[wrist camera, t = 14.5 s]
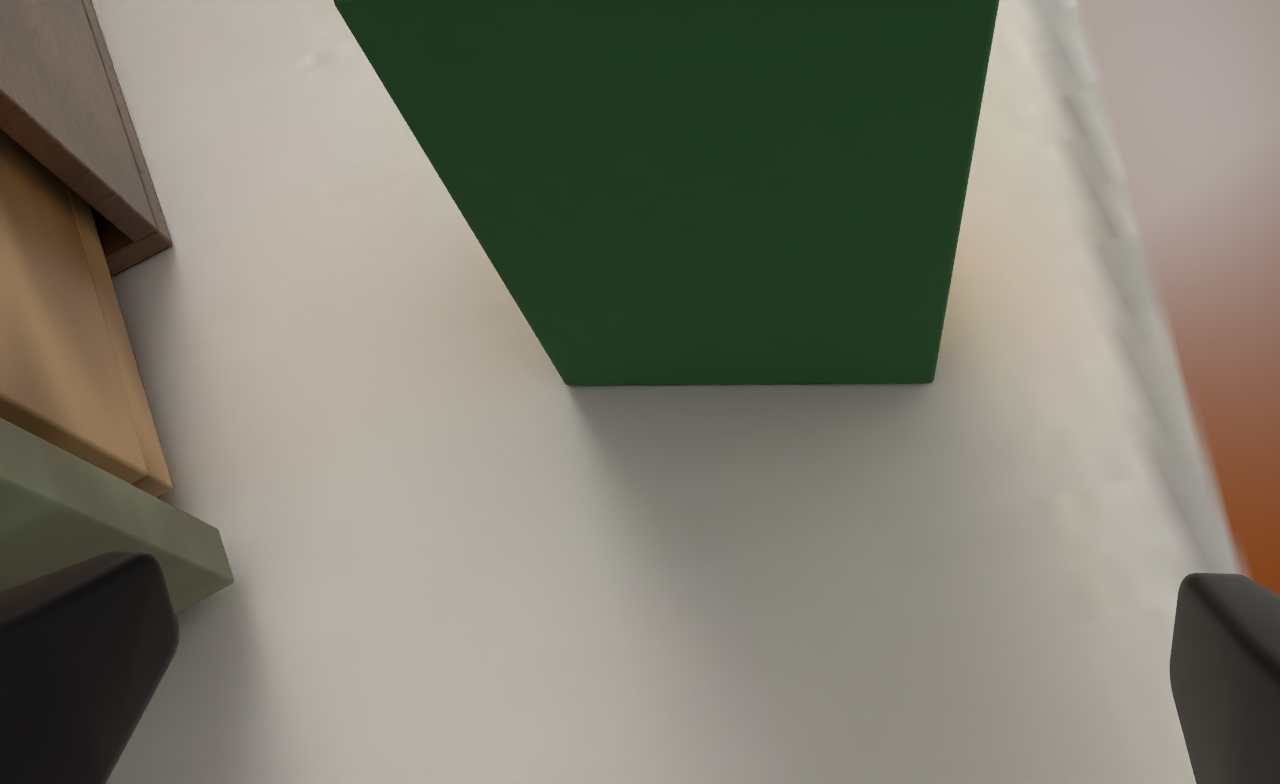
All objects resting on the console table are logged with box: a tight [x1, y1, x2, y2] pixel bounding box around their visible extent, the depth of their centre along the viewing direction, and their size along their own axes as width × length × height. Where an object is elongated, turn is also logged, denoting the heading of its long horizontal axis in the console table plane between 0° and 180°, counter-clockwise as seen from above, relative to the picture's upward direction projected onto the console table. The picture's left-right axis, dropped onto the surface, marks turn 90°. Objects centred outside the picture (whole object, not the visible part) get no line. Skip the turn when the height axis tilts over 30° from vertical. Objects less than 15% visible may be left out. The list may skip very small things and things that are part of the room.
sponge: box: [334, 0, 999, 385], centre depth 16 cm, size 4×7×10 cm, turn 86°
